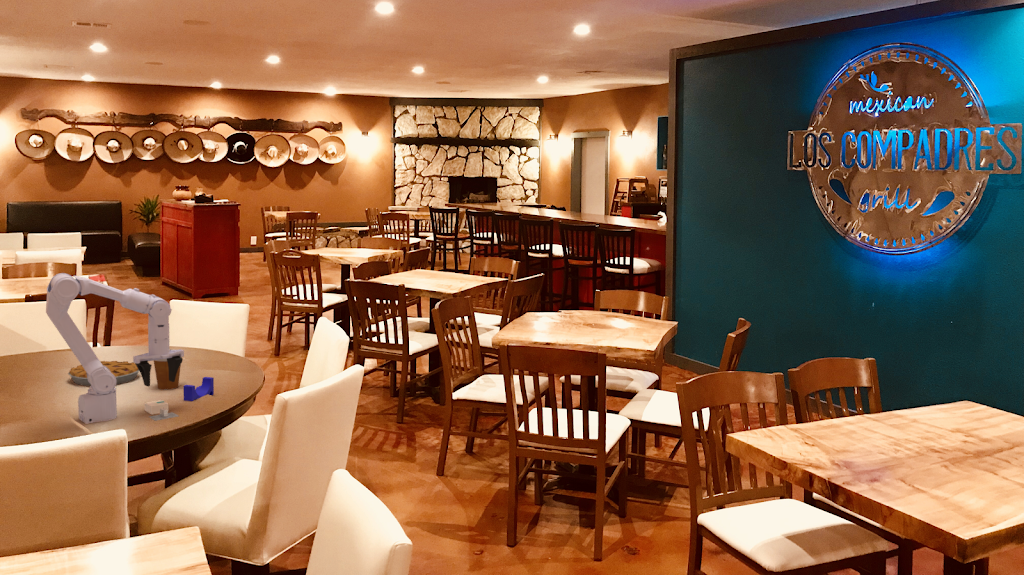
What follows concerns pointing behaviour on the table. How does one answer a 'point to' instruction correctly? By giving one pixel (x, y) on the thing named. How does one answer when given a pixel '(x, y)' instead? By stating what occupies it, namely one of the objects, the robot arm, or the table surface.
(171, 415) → the base plate
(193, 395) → the blue u-shaped cradle
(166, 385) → the disposable coffee cup
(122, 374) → the pie
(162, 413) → the shaft
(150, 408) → the small white box
